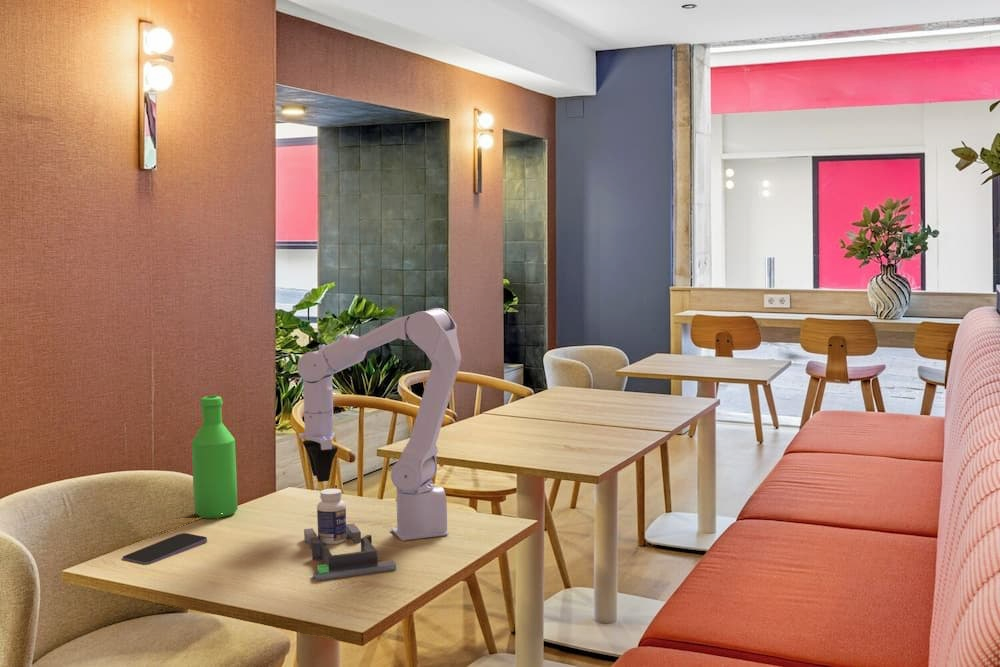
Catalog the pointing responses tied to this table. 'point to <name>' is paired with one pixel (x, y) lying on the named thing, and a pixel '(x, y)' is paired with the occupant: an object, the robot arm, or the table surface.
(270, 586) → the table surface
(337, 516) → the pill bottle
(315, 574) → the grey bottle cradle
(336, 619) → the table surface
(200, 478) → the bottle
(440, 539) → the table surface
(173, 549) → the smartphone
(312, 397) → the robot arm
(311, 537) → the grey u-shaped piece
